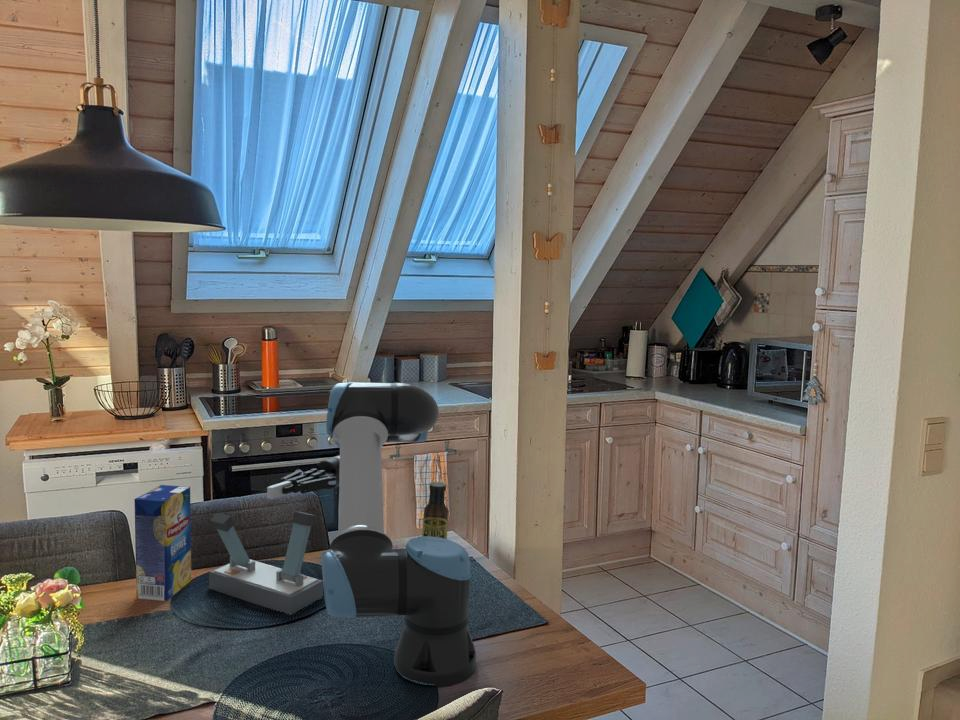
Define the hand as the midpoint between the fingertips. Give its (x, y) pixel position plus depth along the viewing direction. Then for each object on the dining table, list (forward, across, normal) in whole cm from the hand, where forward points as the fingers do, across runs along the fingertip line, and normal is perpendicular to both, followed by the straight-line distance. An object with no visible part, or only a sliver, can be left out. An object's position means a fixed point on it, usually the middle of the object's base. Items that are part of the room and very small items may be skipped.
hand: (269, 493), depth 178 cm
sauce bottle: (-28, -28, -20) cm, 44 cm away
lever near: (+9, -14, -14) cm, 22 cm away
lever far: (+9, 0, -14) cm, 16 cm away
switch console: (+8, -7, -20) cm, 22 cm away
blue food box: (+19, +13, -20) cm, 30 cm away
